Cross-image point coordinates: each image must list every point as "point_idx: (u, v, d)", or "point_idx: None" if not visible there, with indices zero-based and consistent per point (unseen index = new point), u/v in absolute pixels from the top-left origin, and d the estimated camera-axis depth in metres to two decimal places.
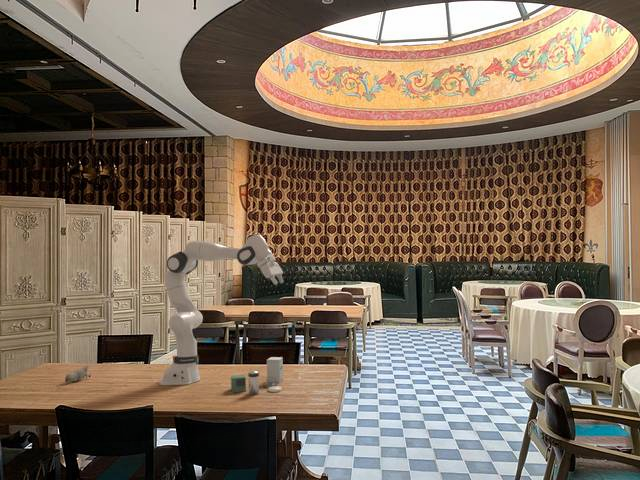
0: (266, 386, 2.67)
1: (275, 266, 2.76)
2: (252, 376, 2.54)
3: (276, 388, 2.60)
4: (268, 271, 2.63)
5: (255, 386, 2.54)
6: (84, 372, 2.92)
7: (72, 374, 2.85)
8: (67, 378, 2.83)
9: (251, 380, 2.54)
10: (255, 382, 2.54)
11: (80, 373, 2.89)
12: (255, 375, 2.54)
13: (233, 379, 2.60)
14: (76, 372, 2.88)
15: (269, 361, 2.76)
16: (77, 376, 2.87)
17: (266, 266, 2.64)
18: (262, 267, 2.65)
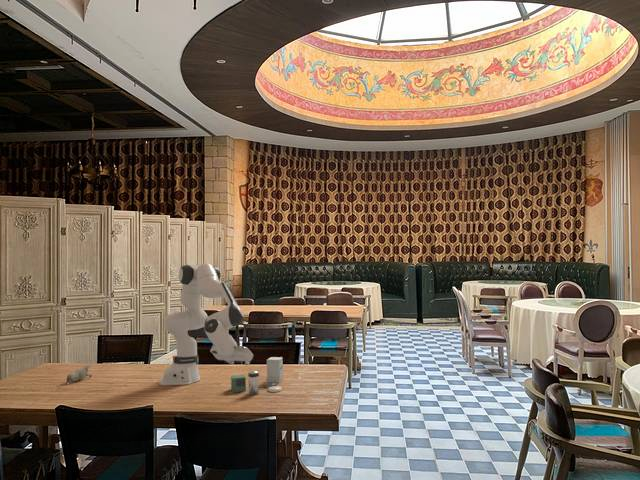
0: (266, 386, 2.67)
1: (235, 355, 2.39)
2: (252, 376, 2.54)
3: (276, 388, 2.60)
4: None
5: (255, 386, 2.54)
6: (85, 372, 2.92)
7: (73, 374, 2.85)
8: (69, 378, 2.83)
9: (251, 380, 2.54)
10: (255, 382, 2.54)
11: (81, 373, 2.89)
12: (255, 375, 2.54)
13: (233, 379, 2.60)
14: (77, 372, 2.88)
15: (269, 361, 2.76)
16: (78, 376, 2.88)
17: None
18: None
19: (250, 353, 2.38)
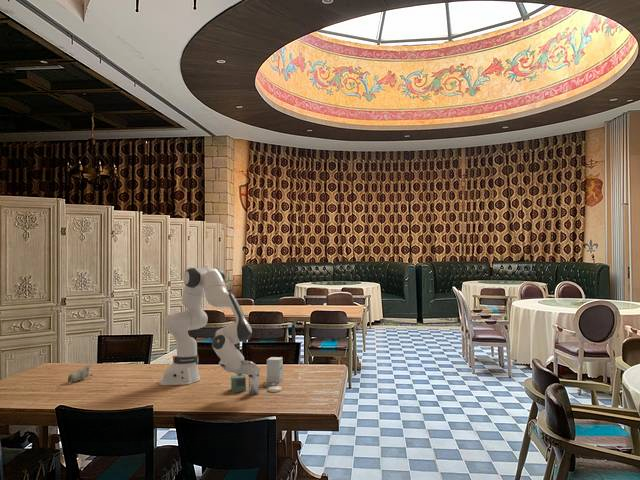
0: (266, 386, 2.67)
1: (242, 369, 2.45)
2: None
3: (276, 388, 2.60)
4: None
5: (255, 386, 2.54)
6: (86, 372, 2.92)
7: (75, 374, 2.86)
8: (70, 378, 2.83)
9: (251, 380, 2.54)
10: (255, 382, 2.54)
11: (82, 373, 2.90)
12: None
13: (233, 379, 2.60)
14: (78, 372, 2.88)
15: (269, 361, 2.76)
16: (79, 376, 2.88)
17: None
18: None
19: (257, 368, 2.44)
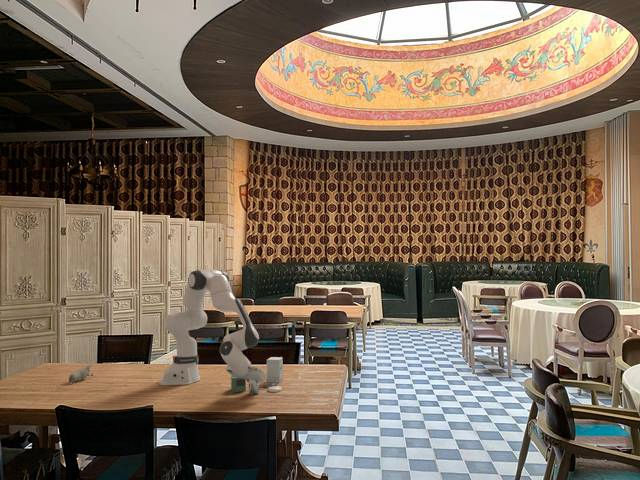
0: (266, 386, 2.67)
1: (249, 374, 2.49)
2: None
3: (276, 388, 2.60)
4: None
5: (255, 386, 2.54)
6: (87, 372, 2.93)
7: (76, 374, 2.86)
8: (71, 378, 2.83)
9: (251, 380, 2.54)
10: (255, 382, 2.54)
11: (83, 373, 2.90)
12: None
13: (233, 379, 2.60)
14: (79, 372, 2.89)
15: (269, 361, 2.76)
16: (80, 376, 2.88)
17: None
18: None
19: (263, 373, 2.48)
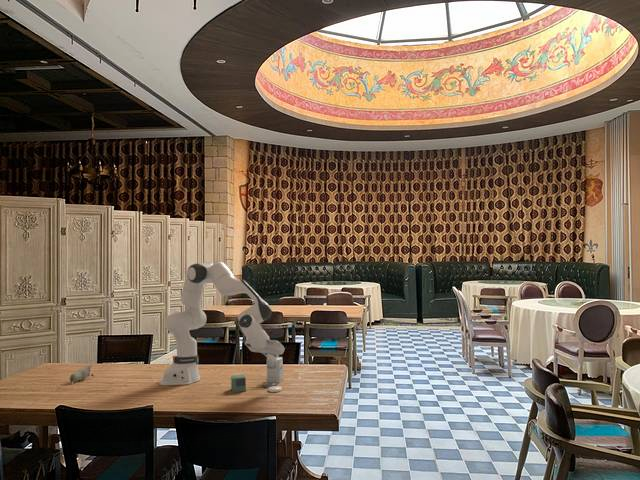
0: (266, 386, 2.67)
1: (268, 348, 2.53)
2: None
3: (276, 388, 2.60)
4: None
5: (273, 360, 2.58)
6: (88, 371, 2.93)
7: (77, 373, 2.86)
8: (72, 377, 2.84)
9: (269, 354, 2.58)
10: (273, 356, 2.58)
11: (84, 372, 2.90)
12: None
13: (233, 379, 2.60)
14: (80, 371, 2.89)
15: None
16: (81, 375, 2.89)
17: None
18: None
19: (282, 347, 2.52)
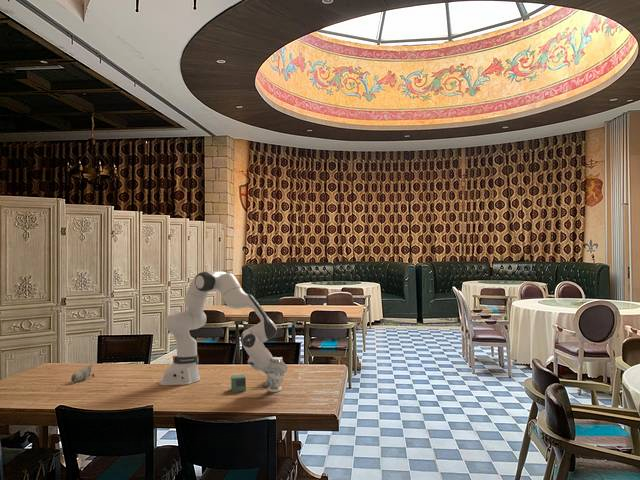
0: (266, 386, 2.67)
1: (271, 367, 2.54)
2: None
3: None
4: None
5: (276, 381, 2.59)
6: (89, 371, 2.93)
7: (78, 373, 2.87)
8: (73, 377, 2.84)
9: (272, 375, 2.59)
10: (276, 377, 2.59)
11: (85, 372, 2.91)
12: None
13: (233, 379, 2.60)
14: (81, 371, 2.89)
15: None
16: (83, 375, 2.89)
17: None
18: None
19: (285, 366, 2.52)
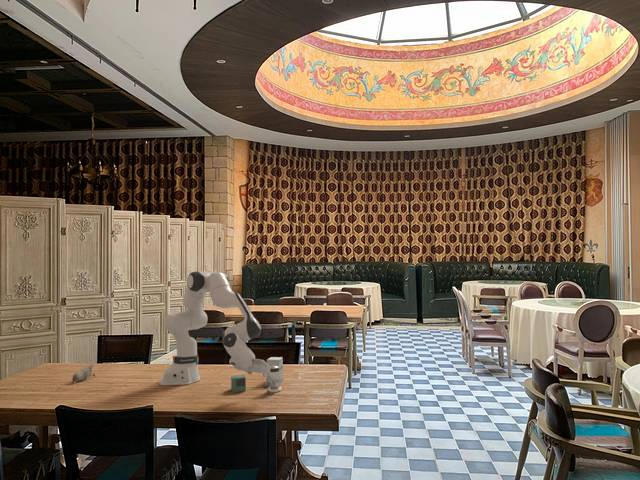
0: (266, 386, 2.67)
1: (253, 367, 2.43)
2: (273, 371, 2.59)
3: None
4: None
5: (276, 381, 2.59)
6: (90, 371, 2.94)
7: (79, 373, 2.87)
8: (75, 377, 2.84)
9: (272, 375, 2.59)
10: (276, 377, 2.59)
11: (86, 372, 2.91)
12: (276, 370, 2.59)
13: (233, 379, 2.60)
14: (82, 371, 2.90)
15: (269, 361, 2.76)
16: (84, 375, 2.89)
17: None
18: None
19: (268, 366, 2.42)
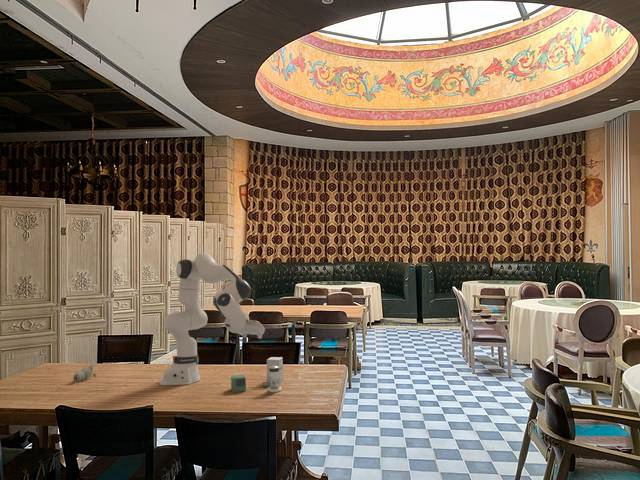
0: (266, 386, 2.67)
1: (247, 328, 2.43)
2: (273, 371, 2.59)
3: None
4: None
5: (276, 381, 2.59)
6: (90, 371, 2.94)
7: (80, 373, 2.87)
8: (76, 377, 2.85)
9: (272, 375, 2.59)
10: (276, 377, 2.59)
11: (87, 372, 2.91)
12: (276, 370, 2.59)
13: (233, 379, 2.60)
14: (83, 371, 2.90)
15: (269, 361, 2.76)
16: (85, 375, 2.90)
17: None
18: None
19: (262, 327, 2.42)
